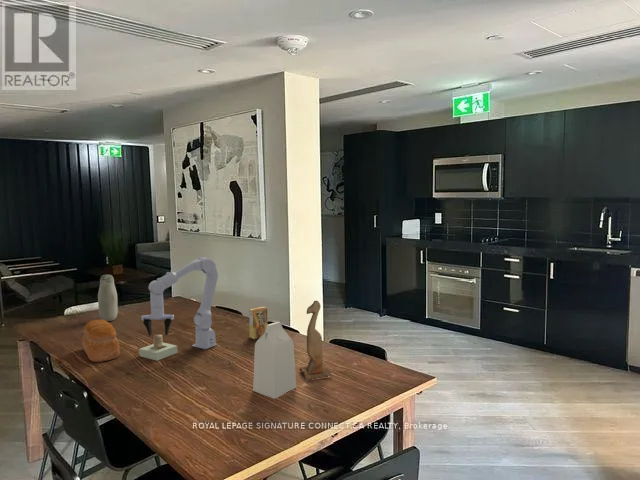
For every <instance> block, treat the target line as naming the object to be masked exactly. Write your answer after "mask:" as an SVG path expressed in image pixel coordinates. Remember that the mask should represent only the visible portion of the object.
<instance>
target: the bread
mask: <svg viewBox="0 0 640 480" xmlns="http://www.w3.org/2000/svg"><path fill="white" fill-rule="evenodd" d="M83 332H84V333H83V335H82V338H81V343H82V344H81V345H82V350H83V351H84V352H85V354H86V355H87V358H88V360H89V361H91V362H95V363H98V362H99V363H100V362H105V361H110V360H114V359H117V358H118V357H119V356H120V354H121V353H120V342H119V340H118V338H117V332H116V329H115V328H114V326H113V325H112V324H111V323H110V321H106V320H103V319H101V318H100V319H92V320H89V321H88V322H87V323H86V324H84V327H83Z"/></svg>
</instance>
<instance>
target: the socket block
mask: <svg viewBox="0 0 640 480" xmlns="http://www.w3.org/2000/svg"><path fill="white" fill-rule="evenodd" d="M138 353H139V357H142V358H144V359H149V360H153V361H157V362H158V361H160V360H162V359H165V358H167V357H170V356H174V355H175V354H178V345H175V344H171V343H167V342H163V348H162V349H159V350H155V349H154V343H152V344H149V345H146V346H143V347H141V348H139V350H138Z"/></svg>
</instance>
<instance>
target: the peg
mask: <svg viewBox="0 0 640 480" xmlns="http://www.w3.org/2000/svg"><path fill="white" fill-rule="evenodd" d="M152 337H153V339H152V340H153V344H154V349H155V350H159V349H162V348H163V343H164V341H163V340H164V339H163V334H154V335H152Z"/></svg>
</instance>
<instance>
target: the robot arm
mask: <svg viewBox="0 0 640 480" xmlns="http://www.w3.org/2000/svg"><path fill="white" fill-rule="evenodd" d="M216 266H217V265H216V263H215V262H214V260H212V259H211V258H208V257H205V256H199V257H197V258H195V259H194V260H192V261H191V262H189V263H187V264H186V265H184V266H182V267H181V268H180V269H178V270H176V271H175V272H174V271H170V272H169V271H167V272H166V273H165V275H162V276H161V277H158V278H156V280H152V281H151V282H150V283H149V284H148V287H147V288H148V290H149V293H150V295H149V297H150V300H149V301H150V314H146V315H145V314H143V315H141V316H140V317H141V319H140V320H141V321H143V325H144V326H145V328H146V330H147V333H148V336H151V335H152V333H153V331H152V322H153V320H154V321H155V320H156V321H157V320H164V322H163V323H164V329H165V330H164V334H165V336H168V335H169V329H170V327H171V323H172V321H173V320H175V314H167V313H165V306H164V304H165V303H164V291H165V290H166V289H168V288H170V287H171V286H173V285H175V284H177V283H178V282H179V281H178V280H179V278H183V276H186V275H188V274H189V273H191V272H193V271H201V272H202V273H204V275H205V277H206V280H205V284H204V288H203V292H202V297H201V300H200V301H201V302H200V306H199V308H198V310H197V311H196V314H195V315H194V316H193V323H194V324H195V330H194V331H195V343H194V344H192V347H194V348H199V349H201V350H202V349H203V350H208V349H210V348H212V347H215V346H217V345H218V344H217V343H216V341H217V340H216V331H215V330H214V329H213V328H211V326H212V323H213V322H212V312H211V308H212V304H213V301H214V296H215V291H216V287H217V282H218V276H219V272H218V271H217V267H216Z"/></svg>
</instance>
